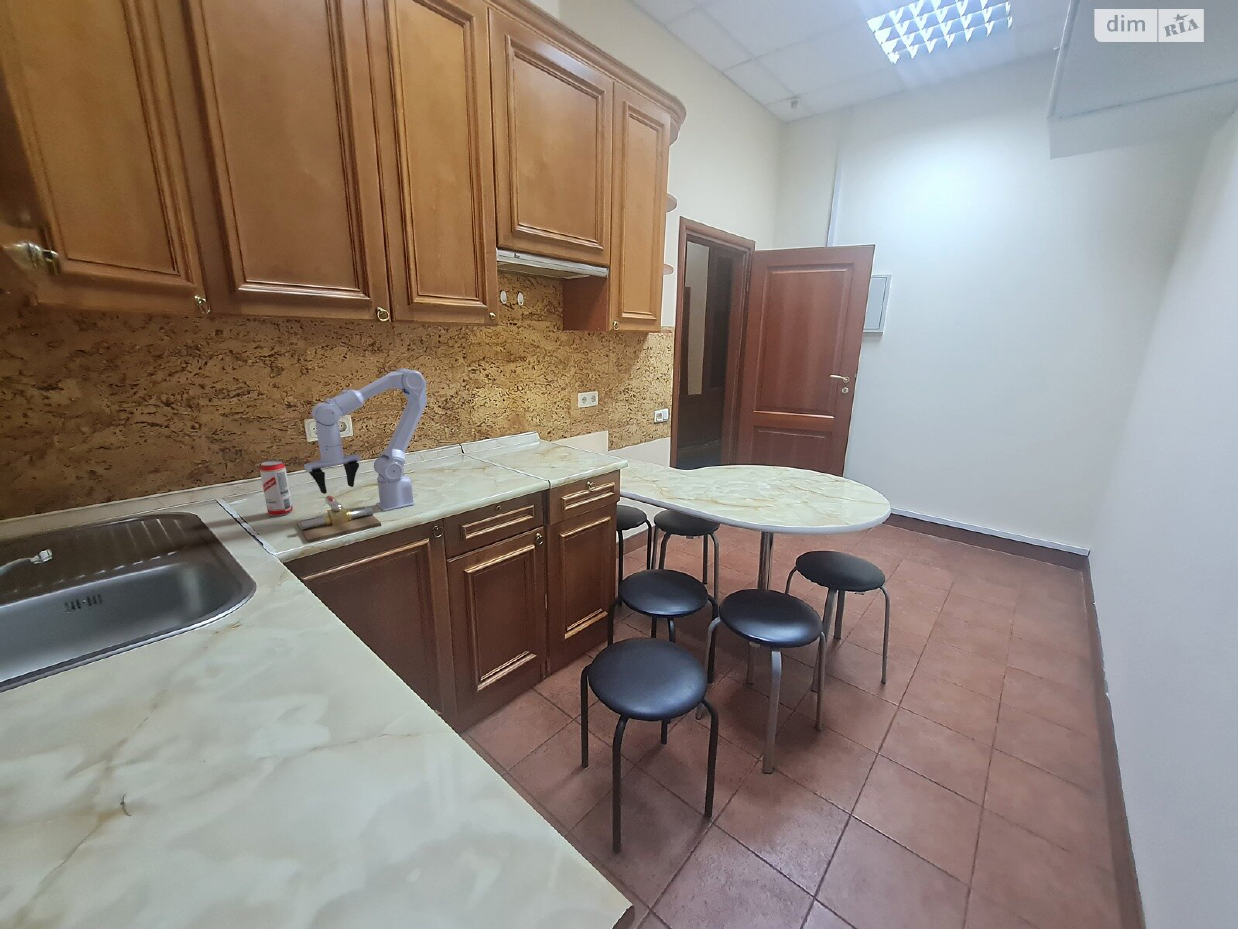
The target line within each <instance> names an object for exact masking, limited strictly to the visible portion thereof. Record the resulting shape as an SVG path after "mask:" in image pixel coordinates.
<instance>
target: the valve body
mask: <svg viewBox="0 0 1238 929" xmlns="http://www.w3.org/2000/svg"><path fill="white" fill-rule="evenodd" d="M363 508H364V507H363ZM358 509H359V508H358ZM350 510H351V509H349V510H346V509H345V507H343V506H342V509H341V510H337V511H332V510H331V509H328V510H327V514H324V515H323V516H324V517H321V518H316V517H315V518H316V519H312V520H307V521H302V522H300V526H301V529H302V530H306V529H311V528H315V527H320V526H324V525H326V526H329V525H332V526H335V525H339V524H344V523H348V521H352V519H356V518H361V517H365V516H370V515H373V516H374V510H373V507H372V506H370V507H365V508H364V509H359V510H355V511H350Z"/></svg>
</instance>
